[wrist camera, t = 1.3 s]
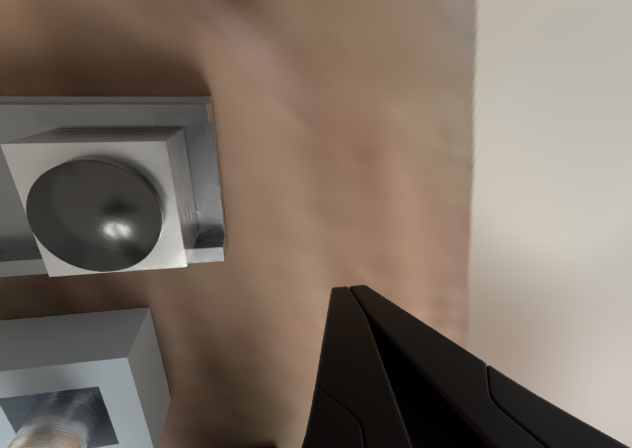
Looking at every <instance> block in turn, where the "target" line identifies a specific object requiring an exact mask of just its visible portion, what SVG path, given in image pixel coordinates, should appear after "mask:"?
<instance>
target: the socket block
mask: <svg viewBox="0 0 632 448" xmlns="http://www.w3.org/2000/svg"><path fill="white" fill-rule="evenodd" d="M97 386H99V388H100V391H101V394H102V397H103V400H104V403H105V408H104V410H103V412H102V414H101V417H100V419H99V421H98V423H97V425H96V428H95V430H94V432H93V434H92V437H91V439H90V441H89V443H88V446H87V448H159V446H160V442H161V438H162V434H163V430H164V426H165V422H166V418H167V414H168V410H169V406H170V402H171V396H170V392H169V387H168V383H167V379H166V375H165V370H164V366H163V362H162V358H161V353H160V349H159V345H158V341H157V337H156V332H155V328H154V324H153V320H152V315H151V311H150V307H145V308H134V309H123V310H112V311H101V312H90V313H79V314H67V315H56V316H45V317H34V318H23V319H12V320H1V321H0V448H7V447H8V446H9V444H10V443H11V441H12V440H13V438H14V437H15V435H16V434H17V432H18V431H19V429H20V428H21V426H22V425H23V423H24V422H25V420H26V419H27V417H28V416H29V414H30V412H31V411H32V409H33V408H34V406H35V405H36V403H37V402H38V400H39V399H40V397H41V396H42V394H43V393H48V392H56V391H64V390H73V389H81V388H89V387H97Z"/></svg>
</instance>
